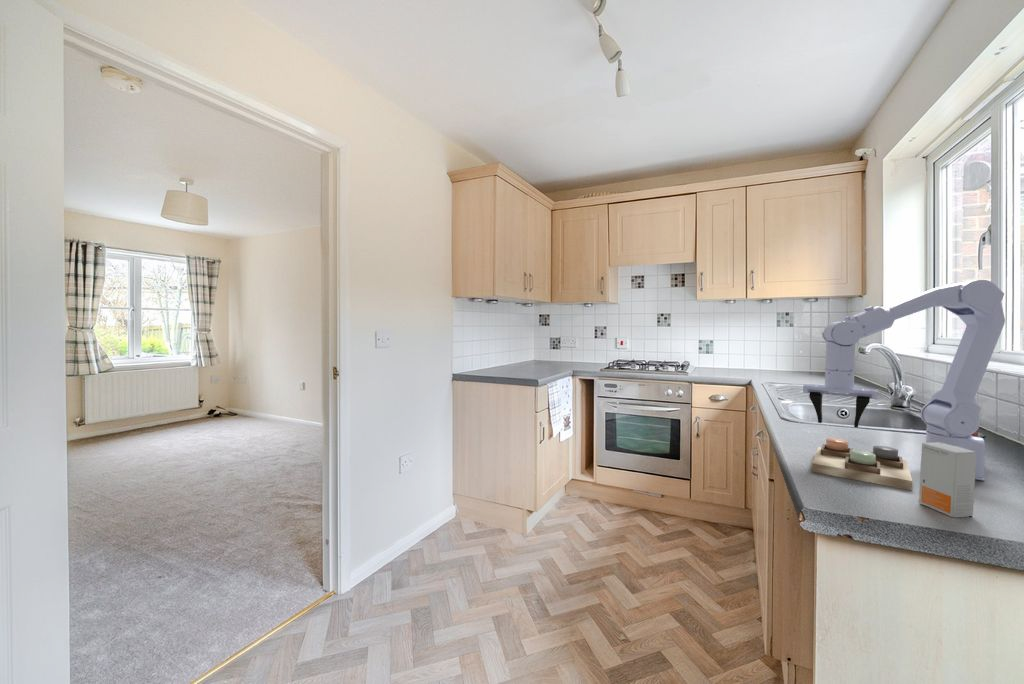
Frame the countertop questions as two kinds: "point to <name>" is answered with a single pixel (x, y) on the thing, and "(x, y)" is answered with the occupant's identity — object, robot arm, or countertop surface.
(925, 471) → the skincare box
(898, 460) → the button panel
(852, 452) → the sage button
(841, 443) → the terracotta button
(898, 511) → the countertop surface
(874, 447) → the charcoal button
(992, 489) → the countertop surface
